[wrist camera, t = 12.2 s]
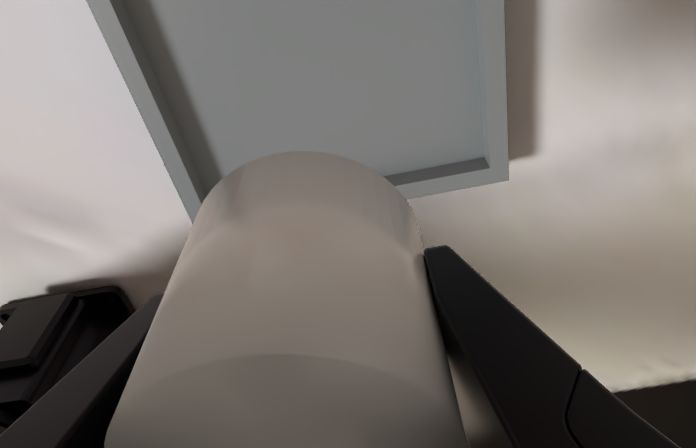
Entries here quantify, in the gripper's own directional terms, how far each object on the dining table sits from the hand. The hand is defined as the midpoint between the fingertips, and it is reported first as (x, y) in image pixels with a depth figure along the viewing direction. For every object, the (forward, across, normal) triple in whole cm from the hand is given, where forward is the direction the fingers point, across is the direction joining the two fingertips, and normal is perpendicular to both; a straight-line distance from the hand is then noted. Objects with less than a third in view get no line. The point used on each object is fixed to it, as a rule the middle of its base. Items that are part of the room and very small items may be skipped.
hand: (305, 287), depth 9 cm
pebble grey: (+1, 0, 0) cm, 1 cm away
